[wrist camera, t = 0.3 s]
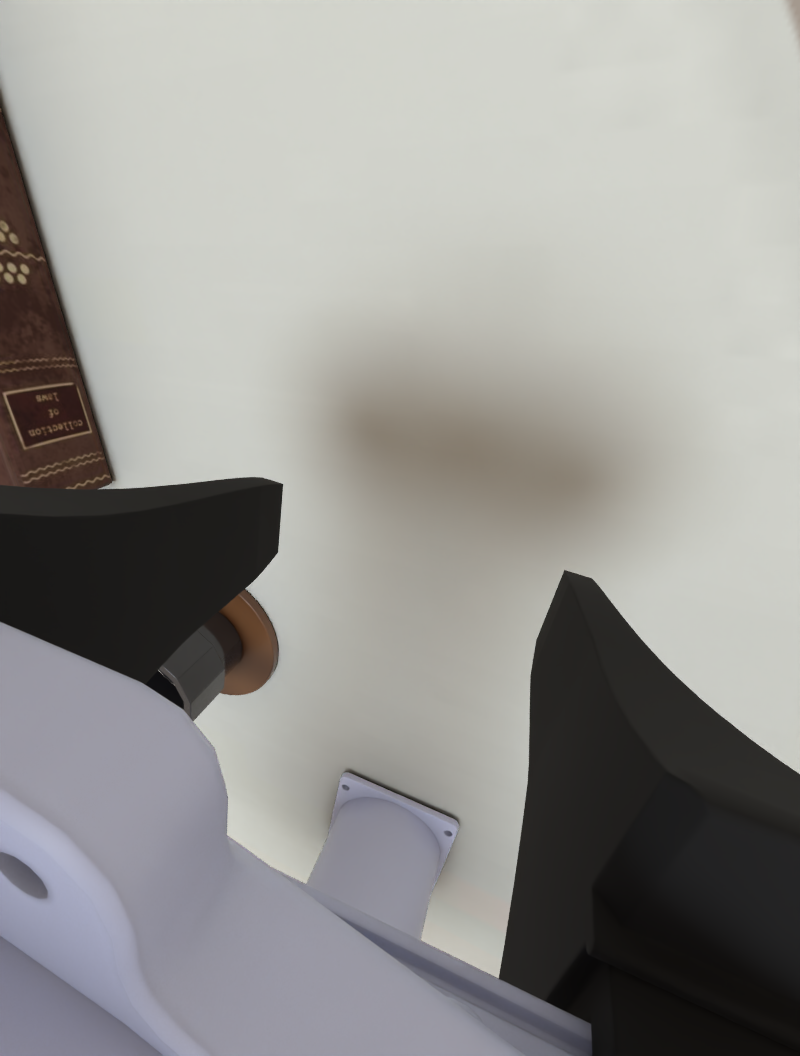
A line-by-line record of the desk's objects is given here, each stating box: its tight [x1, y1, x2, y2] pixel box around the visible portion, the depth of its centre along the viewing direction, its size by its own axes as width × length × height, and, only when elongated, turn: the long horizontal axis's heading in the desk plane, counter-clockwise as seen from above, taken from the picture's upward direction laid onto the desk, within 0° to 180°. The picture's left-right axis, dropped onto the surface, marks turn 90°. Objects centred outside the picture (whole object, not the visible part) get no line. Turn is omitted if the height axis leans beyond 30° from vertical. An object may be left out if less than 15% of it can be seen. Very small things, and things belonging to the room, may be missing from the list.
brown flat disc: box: [219, 590, 278, 695], centre depth 29 cm, size 9×9×1 cm
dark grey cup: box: [145, 612, 242, 721], centre depth 27 cm, size 6×7×5 cm
